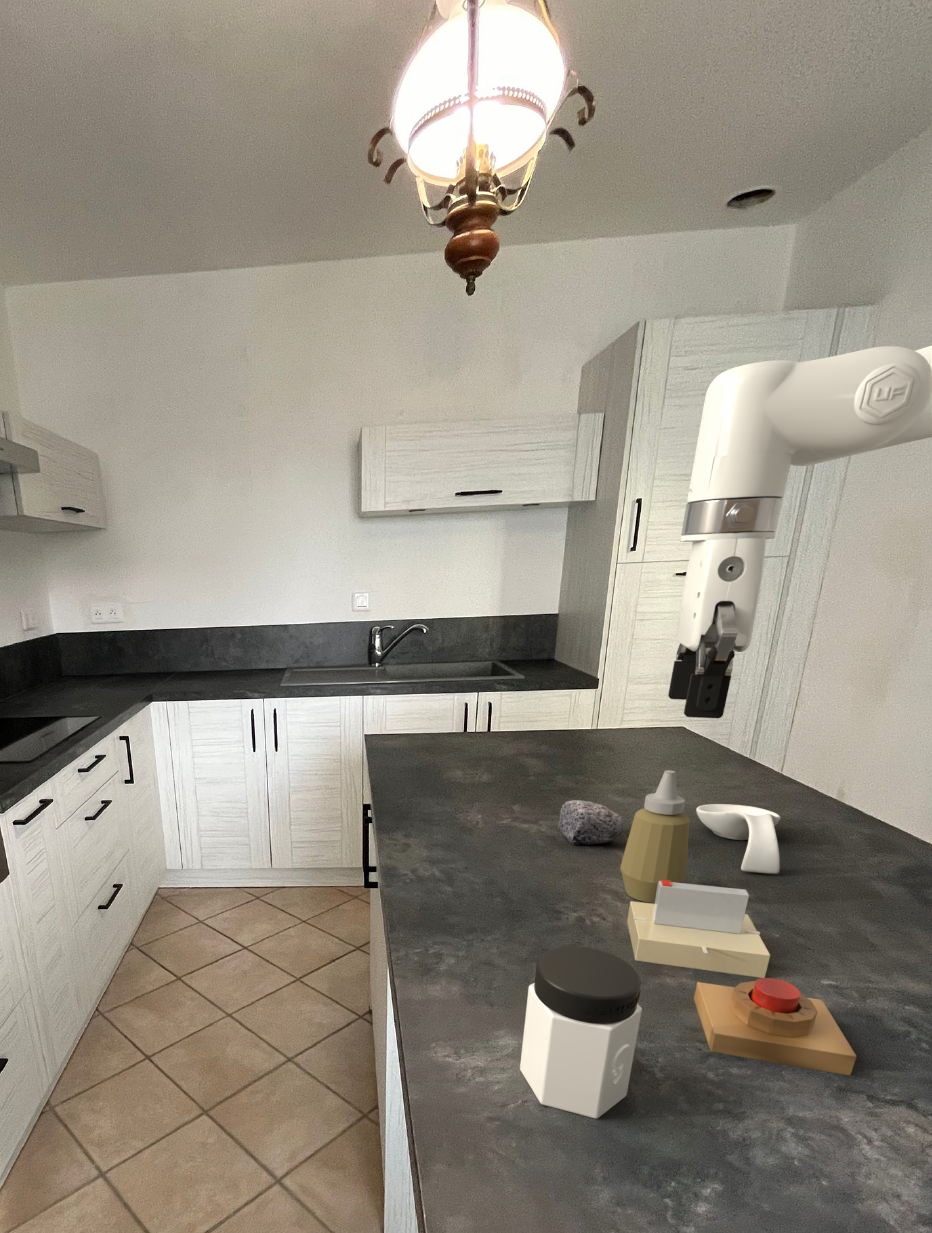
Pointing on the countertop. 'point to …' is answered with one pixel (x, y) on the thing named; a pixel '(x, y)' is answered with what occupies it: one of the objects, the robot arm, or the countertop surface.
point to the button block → (772, 1030)
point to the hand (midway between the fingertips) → (693, 707)
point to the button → (776, 995)
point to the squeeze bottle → (657, 842)
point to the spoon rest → (746, 833)
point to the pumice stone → (589, 823)
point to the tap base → (696, 945)
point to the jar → (581, 1029)
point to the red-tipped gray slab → (700, 906)
